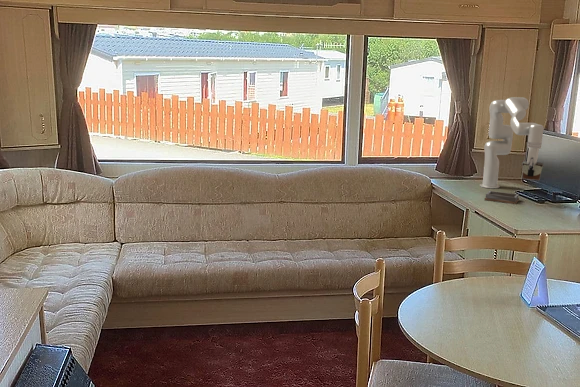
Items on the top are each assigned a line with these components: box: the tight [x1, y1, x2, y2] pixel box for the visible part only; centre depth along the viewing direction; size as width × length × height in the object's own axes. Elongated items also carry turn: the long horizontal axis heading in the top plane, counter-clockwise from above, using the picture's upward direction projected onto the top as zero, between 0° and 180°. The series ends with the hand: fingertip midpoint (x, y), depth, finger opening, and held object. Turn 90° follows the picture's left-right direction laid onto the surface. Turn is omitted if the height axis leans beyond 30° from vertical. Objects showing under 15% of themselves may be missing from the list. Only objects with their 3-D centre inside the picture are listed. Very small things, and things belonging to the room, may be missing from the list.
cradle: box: [484, 190, 520, 205], centre depth 345 cm, size 13×18×4 cm
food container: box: [521, 160, 545, 181], centre depth 336 cm, size 12×6×10 cm, turn 71°
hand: (530, 175), depth 336 cm, fingers closed on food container, 5 cm apart
